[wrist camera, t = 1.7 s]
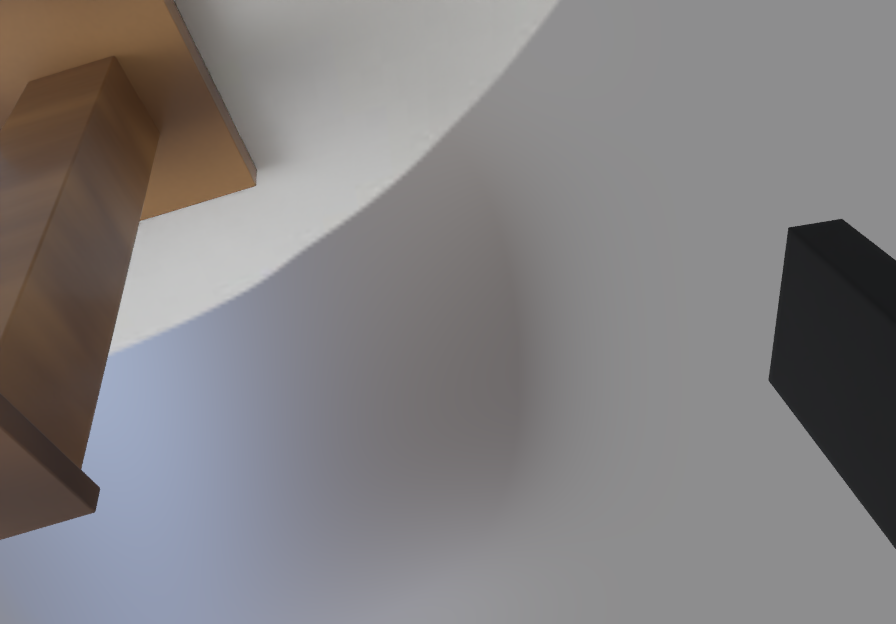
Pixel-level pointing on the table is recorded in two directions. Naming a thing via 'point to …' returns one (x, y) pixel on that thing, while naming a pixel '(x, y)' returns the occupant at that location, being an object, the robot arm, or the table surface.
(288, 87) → the table surface
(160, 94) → the stand
